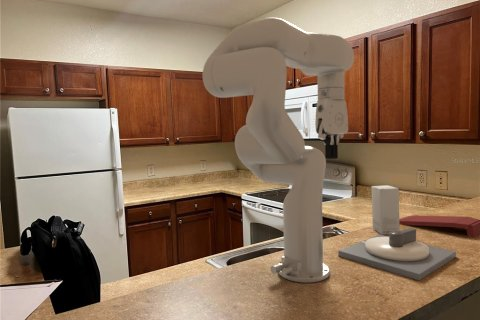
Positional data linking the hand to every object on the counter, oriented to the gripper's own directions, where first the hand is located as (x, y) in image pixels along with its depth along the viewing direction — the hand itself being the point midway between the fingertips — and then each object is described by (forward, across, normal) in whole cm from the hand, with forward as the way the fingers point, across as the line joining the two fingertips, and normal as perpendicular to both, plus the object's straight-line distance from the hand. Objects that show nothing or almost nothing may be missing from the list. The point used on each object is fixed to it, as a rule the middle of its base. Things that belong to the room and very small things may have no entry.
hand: (331, 158), depth 101 cm
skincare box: (+27, +27, -2) cm, 38 cm away
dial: (+25, +7, -16) cm, 31 cm away
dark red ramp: (+28, +45, -12) cm, 54 cm away
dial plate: (+27, +7, -16) cm, 32 cm away
